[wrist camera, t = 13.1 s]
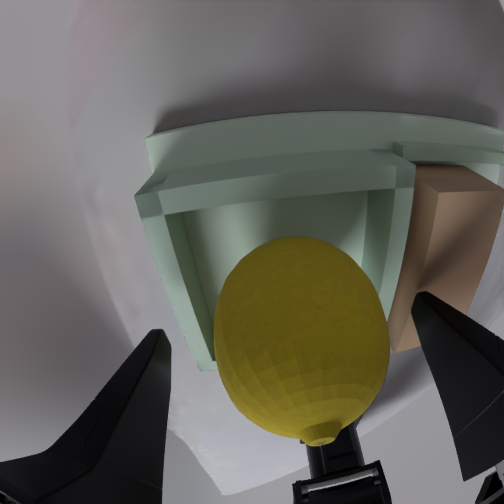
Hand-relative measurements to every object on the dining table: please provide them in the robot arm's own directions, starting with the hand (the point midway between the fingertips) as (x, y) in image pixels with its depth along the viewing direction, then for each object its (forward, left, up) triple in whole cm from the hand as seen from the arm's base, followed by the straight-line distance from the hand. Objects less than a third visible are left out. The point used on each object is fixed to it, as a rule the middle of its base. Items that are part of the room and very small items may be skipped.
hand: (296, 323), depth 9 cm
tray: (0, -4, -5) cm, 6 cm away
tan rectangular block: (0, -7, -3) cm, 8 cm away
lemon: (0, 0, -4) cm, 4 cm away
